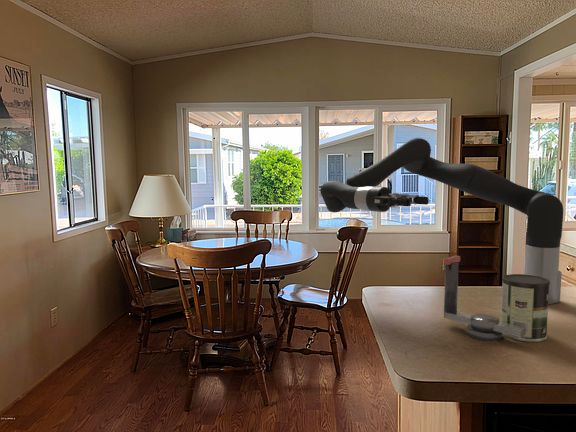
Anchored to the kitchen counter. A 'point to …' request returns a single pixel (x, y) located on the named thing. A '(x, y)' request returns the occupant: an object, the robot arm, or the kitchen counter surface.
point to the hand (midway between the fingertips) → (419, 201)
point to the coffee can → (526, 305)
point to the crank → (476, 321)
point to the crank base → (483, 334)
